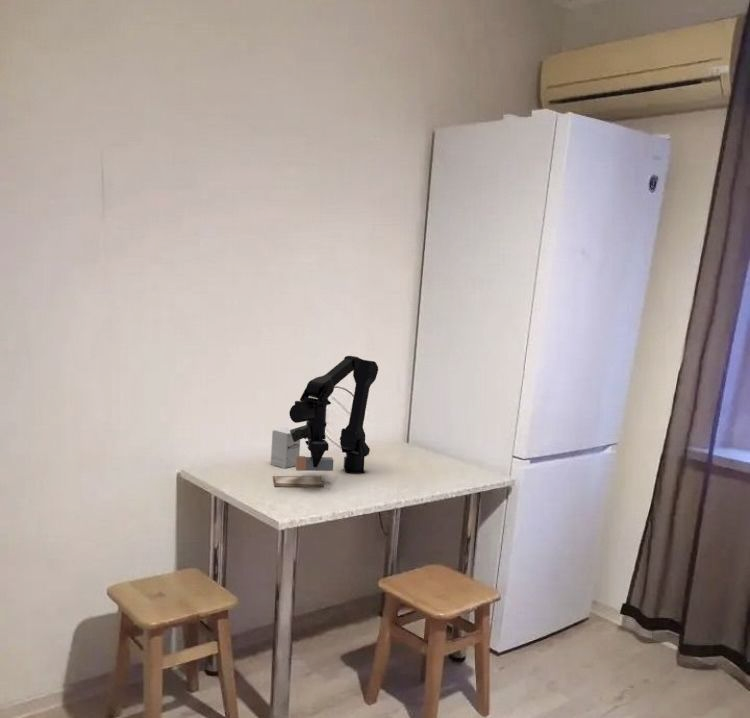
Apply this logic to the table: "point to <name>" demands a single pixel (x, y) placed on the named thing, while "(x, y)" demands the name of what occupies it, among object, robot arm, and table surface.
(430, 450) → the table surface
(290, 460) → the supplement box
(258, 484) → the table surface
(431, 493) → the table surface
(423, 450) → the table surface
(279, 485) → the writing board
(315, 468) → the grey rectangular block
